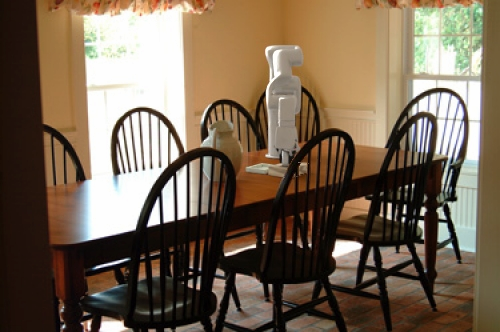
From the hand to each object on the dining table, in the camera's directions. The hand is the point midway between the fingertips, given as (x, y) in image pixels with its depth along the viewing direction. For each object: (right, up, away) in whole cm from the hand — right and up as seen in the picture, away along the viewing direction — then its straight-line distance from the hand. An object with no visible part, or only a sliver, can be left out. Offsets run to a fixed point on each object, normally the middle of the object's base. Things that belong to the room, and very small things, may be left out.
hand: (286, 163), depth 341 cm
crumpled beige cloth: (+1, -5, +3) cm, 6 cm away
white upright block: (0, -5, +1) cm, 5 cm away
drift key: (+6, -4, +9) cm, 11 cm away
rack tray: (-11, -4, +10) cm, 15 cm away
